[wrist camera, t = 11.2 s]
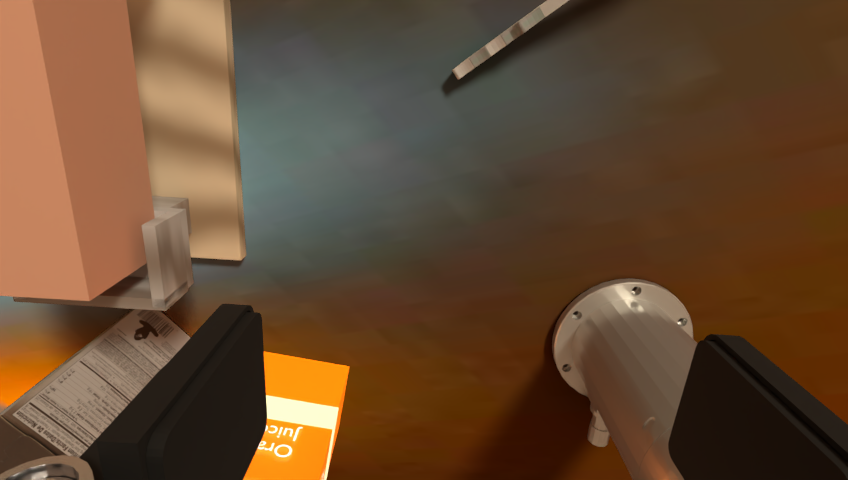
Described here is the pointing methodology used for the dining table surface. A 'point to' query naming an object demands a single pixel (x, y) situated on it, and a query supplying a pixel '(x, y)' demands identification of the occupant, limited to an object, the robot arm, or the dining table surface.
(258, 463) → the orange juice
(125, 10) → the rail
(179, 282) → the cradle stand
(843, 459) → the robot arm
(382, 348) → the dining table surface
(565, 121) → the dining table surface
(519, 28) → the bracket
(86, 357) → the coffee box
